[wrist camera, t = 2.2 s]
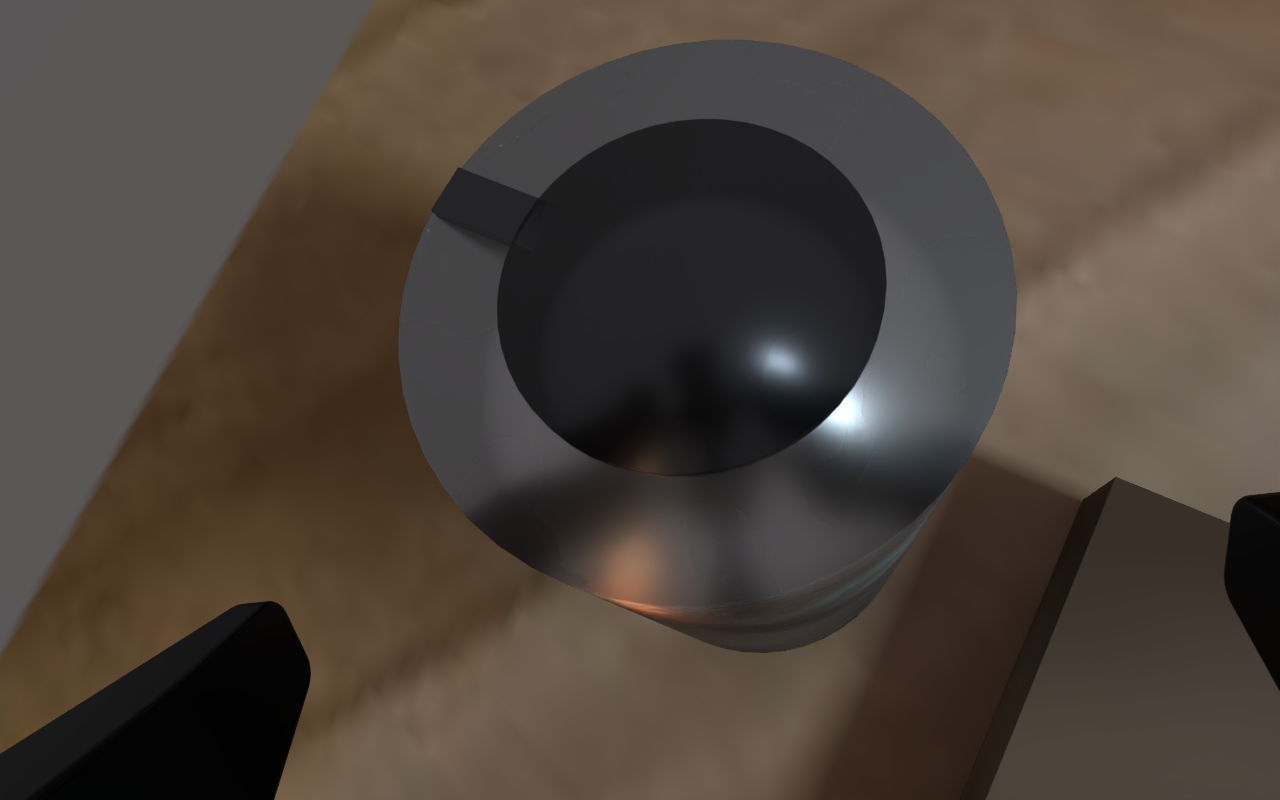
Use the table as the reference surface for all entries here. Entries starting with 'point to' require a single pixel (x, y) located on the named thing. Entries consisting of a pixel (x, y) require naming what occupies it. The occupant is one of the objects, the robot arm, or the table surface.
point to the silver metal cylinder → (711, 335)
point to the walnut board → (1135, 670)
